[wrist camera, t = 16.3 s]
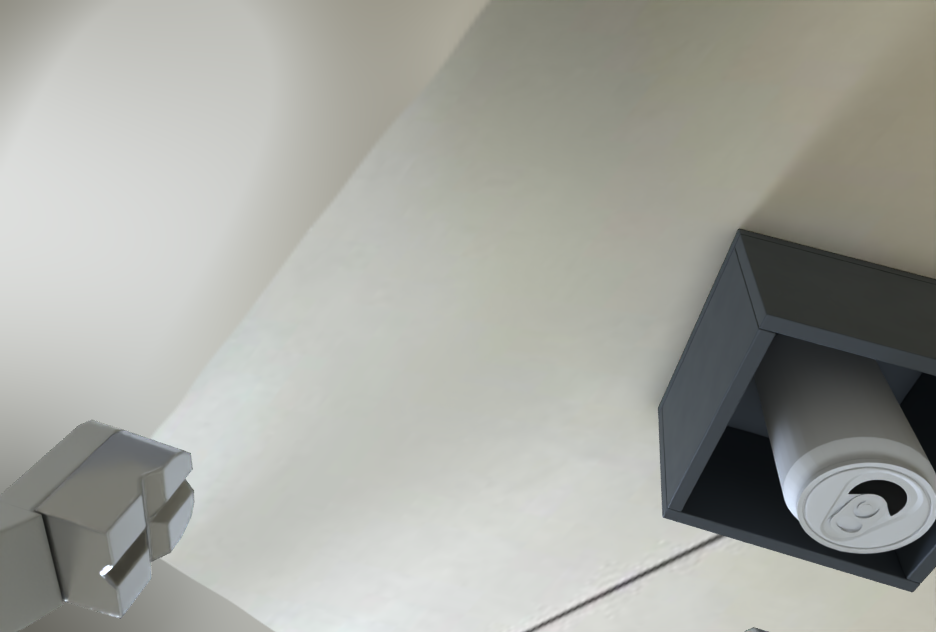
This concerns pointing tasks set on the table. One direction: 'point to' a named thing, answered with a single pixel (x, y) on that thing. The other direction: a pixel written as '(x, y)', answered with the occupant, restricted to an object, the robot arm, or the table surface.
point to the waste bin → (738, 405)
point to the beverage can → (844, 448)
